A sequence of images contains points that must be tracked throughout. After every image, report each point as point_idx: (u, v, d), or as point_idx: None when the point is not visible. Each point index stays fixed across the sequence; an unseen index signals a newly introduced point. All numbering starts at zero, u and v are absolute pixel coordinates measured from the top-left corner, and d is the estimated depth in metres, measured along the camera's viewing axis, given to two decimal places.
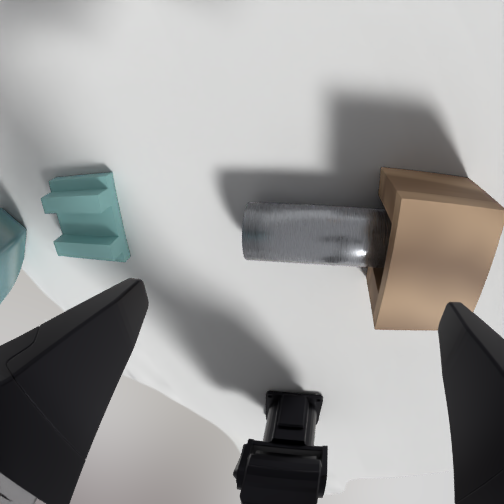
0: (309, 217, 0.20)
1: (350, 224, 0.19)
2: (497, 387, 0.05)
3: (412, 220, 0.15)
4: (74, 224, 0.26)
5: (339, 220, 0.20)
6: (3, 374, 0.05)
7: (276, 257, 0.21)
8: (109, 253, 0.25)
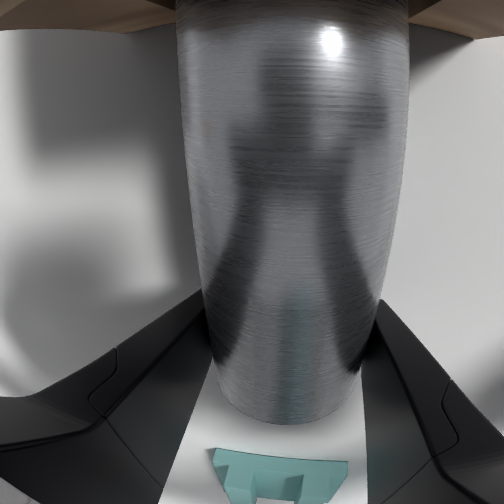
0: (197, 248, 0.06)
1: (186, 109, 0.04)
2: (397, 394, 0.05)
3: None
4: (281, 493, 0.18)
5: (186, 149, 0.05)
6: (89, 414, 0.04)
7: (325, 368, 0.06)
8: (314, 497, 0.14)
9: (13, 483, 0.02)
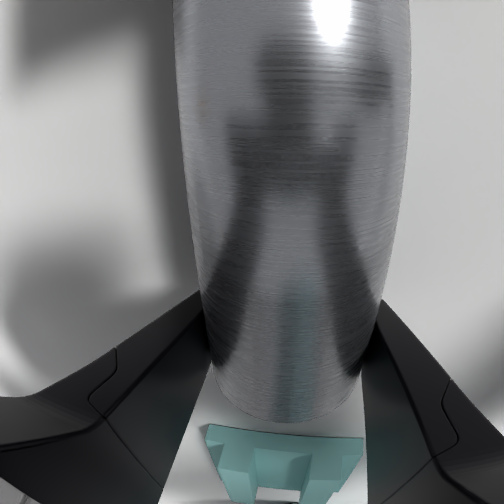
0: (193, 236, 0.06)
1: (182, 91, 0.04)
2: (397, 394, 0.05)
3: None
4: (285, 480, 0.16)
5: (182, 133, 0.05)
6: (89, 415, 0.04)
7: (327, 362, 0.06)
8: (325, 481, 0.12)
9: (13, 483, 0.02)
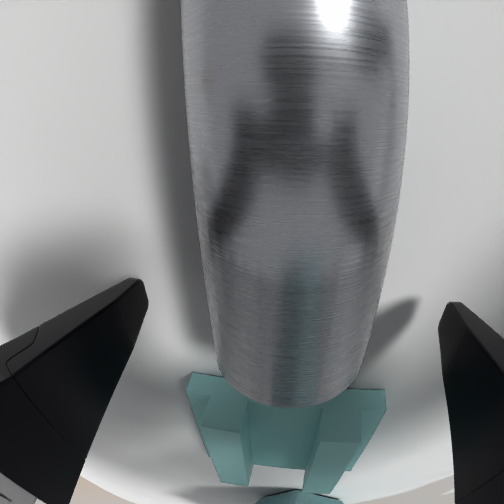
0: (198, 216, 0.06)
1: (190, 70, 0.04)
2: (497, 387, 0.05)
3: None
4: (287, 454, 0.14)
5: (189, 112, 0.05)
6: (3, 374, 0.05)
7: (333, 341, 0.06)
8: (341, 445, 0.10)
9: None
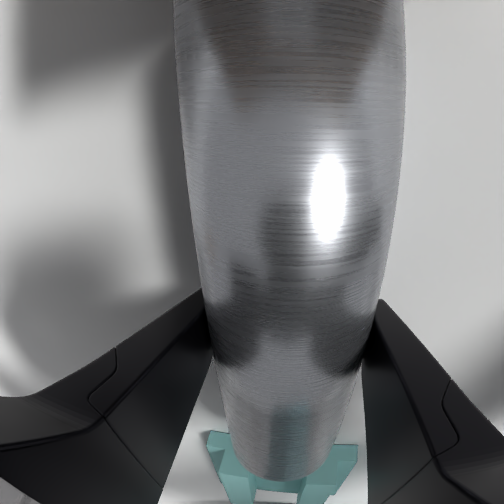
0: (226, 404, 0.08)
1: (221, 352, 0.07)
2: (397, 394, 0.05)
3: None
4: (283, 483, 0.16)
5: (219, 365, 0.07)
6: (89, 414, 0.04)
7: (313, 455, 0.09)
8: (321, 486, 0.13)
9: (13, 483, 0.02)
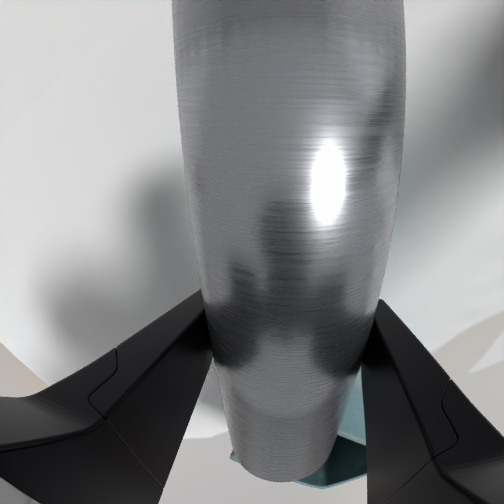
0: (225, 404, 0.08)
1: (221, 352, 0.07)
2: (397, 394, 0.05)
3: None
4: None
5: (219, 365, 0.07)
6: (89, 414, 0.04)
7: (314, 455, 0.08)
8: None
9: (13, 483, 0.02)
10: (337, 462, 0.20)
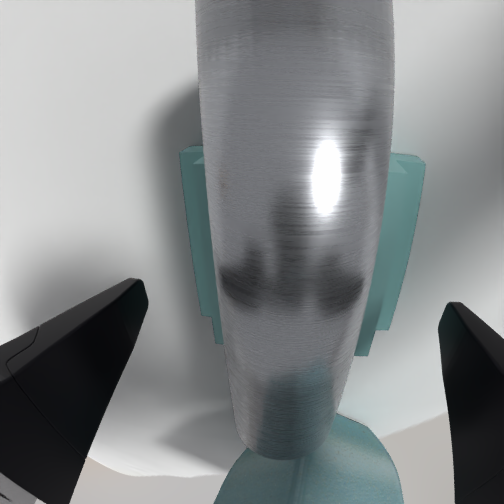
0: (231, 376, 0.09)
1: (229, 321, 0.08)
2: (497, 387, 0.05)
3: None
4: None
5: (227, 335, 0.08)
6: (3, 374, 0.05)
7: (312, 431, 0.09)
8: None
9: None
10: None
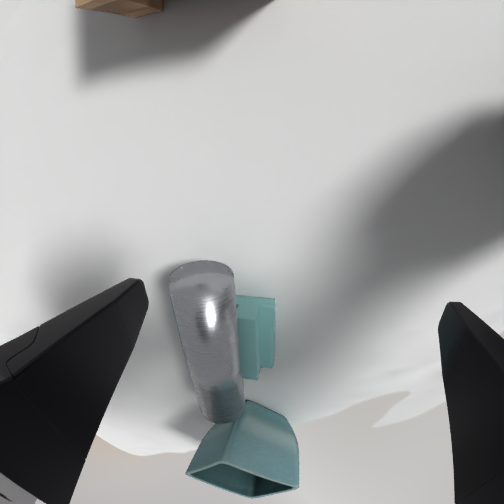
0: (194, 385, 0.24)
1: (190, 368, 0.22)
2: (497, 387, 0.05)
3: None
4: None
5: (190, 372, 0.23)
6: (3, 374, 0.05)
7: (227, 410, 0.24)
8: (245, 321, 0.22)
9: None
10: (261, 482, 0.29)
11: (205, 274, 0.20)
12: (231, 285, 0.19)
